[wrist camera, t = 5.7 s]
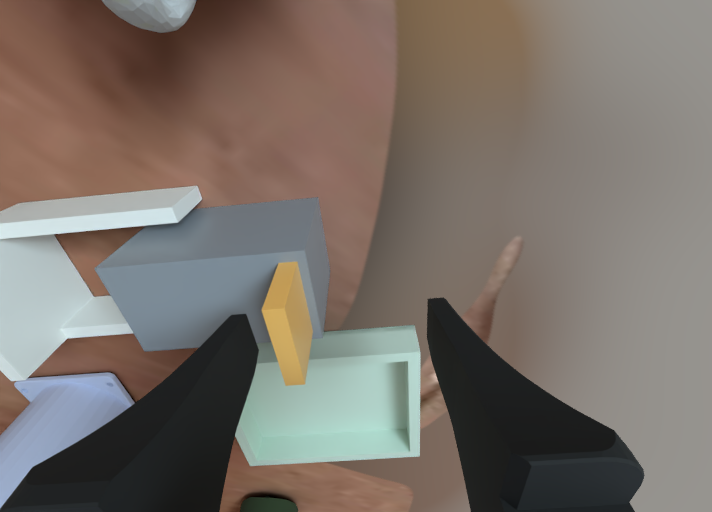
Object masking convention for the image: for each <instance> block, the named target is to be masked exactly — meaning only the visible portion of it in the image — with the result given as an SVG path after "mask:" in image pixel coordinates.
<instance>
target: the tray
mask: <svg viewBox="0 0 712 512" xmlns="http://www.w3.org/2000/svg"><path fill="white" fill-rule="evenodd" d="M257 346H258V349H259V353H258V358H257V364H256V369H255V374H254V377H253V381H252V384H251V387H250V390H249V393H248V396H247V399H246V402H245V405H244V408H243V411H242V414H241V417H240V421H239V424H238V427H237V430H236V433H235V437H236V439H237V441H238V443H239V445H240V447H241V449H242V451H243V453H244V455H245V457H246V459H247V461H248V463H249V465H250V466H259V465H277V464H294V463H312V462H329V461H346V460H364V459H381V458H398V457H415V456H420V349H419V344H418V339H417V335H416V331H415V326H414V325H407V326H394V327H381V328H368V329H354V330H340V331H327V332H323V338H320V339H312V342H311V348H310V355H309V362H308V369H307V375H306V382H305V385H290V386H286V385H285V382H284V379H283V376H282V373H281V370H280V367H279V363H278V360H277V357H276V354H275V351H274V348H273V345H272V342H266V343H257Z"/></svg>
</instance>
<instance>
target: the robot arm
mask: <svg viewBox="0 0 712 512" xmlns="http://www.w3.org/2000/svg"><path fill="white" fill-rule="evenodd" d="M427 316H428V317H427V318H428V319H427V340H428V344H429V350H430V355H431V359H432V363H433V366H434V369H435V372H436V376H437V379H438V382H439V385H440V388H441V391H442V394H443V397H444V400H445V403H446V406H447V409H448V412H449V415H450V419H451V422H452V425H453V430H454V434H455V439H456V443H457V448H458V452H459V457H460V461H461V465H462V470H463V475H464V480H465V484H466V489H467V494H468V499H469V504H470V508H471V512H635V511H634V510H633V508H632V506H631V505H630V503H629V502H630V500H631V499H632V497H633V496H634V494H635V493H636V491H637V490H638V489H639V487H640V486H641V484H642V481H643V479H644V471H643V468H642V467H641V465H640V464H639V462H638V461H637V460H636V458H635V457H634V455H633V454H632V452H631V451H630V450H629V448H628V447H627V446H626V444H625V443H624V442H623V441H622V440H621V439H620V437H619V436H618V435H617V434H616V432H615V431H614V430H612V429H610V428H609V427H607V426H605V425H603V424H601V423H599V422H597V421H595V420H594V419H592V418H590V417H588V416H586V415H584V414H582V413H580V412H579V411H577V410H575V409H573V408H572V407H570V406H568V405H567V404H565V403H563V402H562V401H560V400H558V399H557V398H555V397H554V396H552V395H551V394H549V393H547V392H546V391H545V390H543V389H541V388H540V387H539V386H537V385H536V384H534V383H533V382H531V381H530V380H528V379H527V378H526V377H524V376H523V375H522V374H520V373H519V372H518V371H516V370H515V369H514V368H513V367H511V366H510V365H509V364H508V363H507V362H505V361H504V360H503V359H502V358H500V356H498V355H497V354H496V353H495V352H494V351H493V350H492V349H491V348H490V347H489V346H488V345H487V344H485V343H484V342H483V341H482V340H481V339H480V338H479V337H478V336H477V335H476V333H475V332H474V331H473V330H472V329H471V328H470V327H469V326H468V325H467V324H466V323H465V322H464V321H463V319H462V318H461V317H460V316H459V315H458V314H457V313H456V311H455V310H454V309H453V308H452V307H451V305H450V304H449V303H448V301H447V300H446V299H444V298H434V299H428V314H427ZM258 353H259V349H258V346H257V343H256V340H255V337H254V335H253V332H252V329H251V326H250V323H249V320H248V318H247V315H246V314H236V315H231V316H230V317H228V318H227V319H226V320H225V321H224V323H223V324H222V325H221V326H220V327H219V328H218V329H217V330H216V331H215V332H214V333H213V334H212V335H211V336H210V337H209V338H208V339H207V340H206V341H205V342H204V343H203V344H202V345H201V346H200V347H199V348H198V349H197V350H196V351H195V352H194V353H193V354H192V355H191V356H190V357H189V358H188V359H187V360H186V361H185V362H184V363H183V364H182V365H181V366H179V367H178V368H177V369H176V370H175V371H174V372H173V373H172V374H171V375H170V376H169V377H167V378H166V379H165V380H164V381H163V382H162V383H160V384H159V385H158V386H157V387H155V388H154V389H153V390H152V391H151V392H149V393H148V394H147V395H145V396H144V397H143V398H142V399H140V400H139V401H137V402H136V403H135V402H134V401H133V400H132V398H131V397H130V395H129V394H128V393H127V391H126V390H125V388H124V387H123V385H122V384H121V383H120V381H119V380H118V378H117V377H116V376H115V375H114V374H112V373H109V372H106V373H92V374H79V375H65V376H51V377H37V378H27V379H26V380H21V381H16V382H15V383H14V385H15V387H16V388H17V389H18V390H19V391H20V392H21V393H22V394H23V395H24V396H25V397H26V398H27V399H28V400H29V401H30V402H31V403H30V404H29V405H28V406H27V407H26V408H25V410H24V411H23V412H22V413H21V414H20V415H19V416H18V417H17V418H16V419H15V420H14V421H13V422H12V424H11V425H10V426H9V427H8V428H7V429H6V430H5V431H4V432H3V433H2V434H1V435H0V512H219V510H220V504H221V498H222V493H223V488H224V483H225V478H226V473H227V468H228V463H229V458H230V454H231V449H232V445H233V440H234V437H235V433H236V430H237V427H238V424H239V421H240V417H241V414H242V411H243V408H244V405H245V402H246V399H247V396H248V393H249V390H250V387H251V384H252V381H253V377H254V374H255V369H256V364H257V358H258Z"/></svg>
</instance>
